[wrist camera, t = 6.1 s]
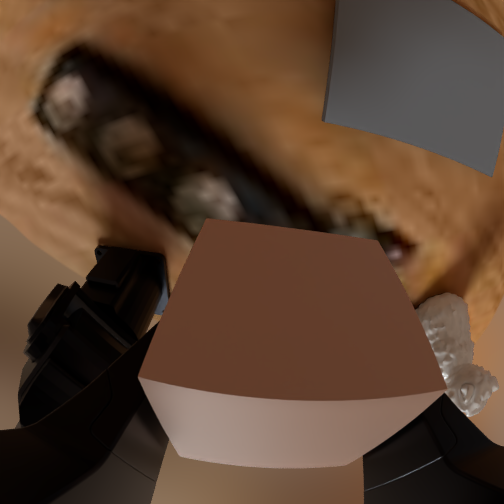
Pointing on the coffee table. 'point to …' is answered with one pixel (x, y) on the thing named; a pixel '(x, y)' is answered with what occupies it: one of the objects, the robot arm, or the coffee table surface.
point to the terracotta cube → (287, 350)
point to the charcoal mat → (419, 77)
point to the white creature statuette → (456, 352)
